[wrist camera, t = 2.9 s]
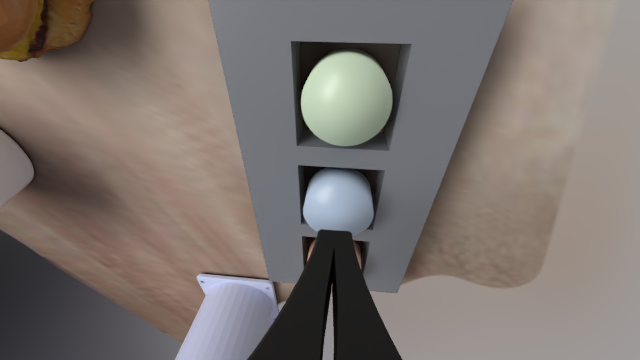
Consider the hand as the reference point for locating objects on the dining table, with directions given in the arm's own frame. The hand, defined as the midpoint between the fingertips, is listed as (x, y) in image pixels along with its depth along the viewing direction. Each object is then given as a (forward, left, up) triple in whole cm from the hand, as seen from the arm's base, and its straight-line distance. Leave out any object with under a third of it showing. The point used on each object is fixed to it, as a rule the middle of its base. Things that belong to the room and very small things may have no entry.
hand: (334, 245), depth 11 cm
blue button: (-1, 0, -5) cm, 5 cm away
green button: (+5, 0, -6) cm, 8 cm away
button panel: (-1, 0, -6) cm, 6 cm away
